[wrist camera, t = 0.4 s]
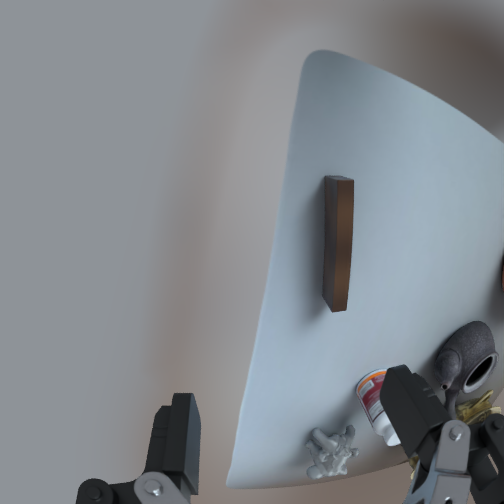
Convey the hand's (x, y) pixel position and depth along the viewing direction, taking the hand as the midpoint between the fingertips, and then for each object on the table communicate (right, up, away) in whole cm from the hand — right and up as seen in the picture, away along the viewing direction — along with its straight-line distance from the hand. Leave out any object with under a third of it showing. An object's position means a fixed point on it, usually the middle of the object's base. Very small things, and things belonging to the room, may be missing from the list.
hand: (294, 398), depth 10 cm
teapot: (+32, -13, +28) cm, 44 cm away
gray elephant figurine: (+11, -27, +32) cm, 43 cm away
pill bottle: (+17, -14, +27) cm, 35 cm away
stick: (+6, +7, +19) cm, 21 cm away
